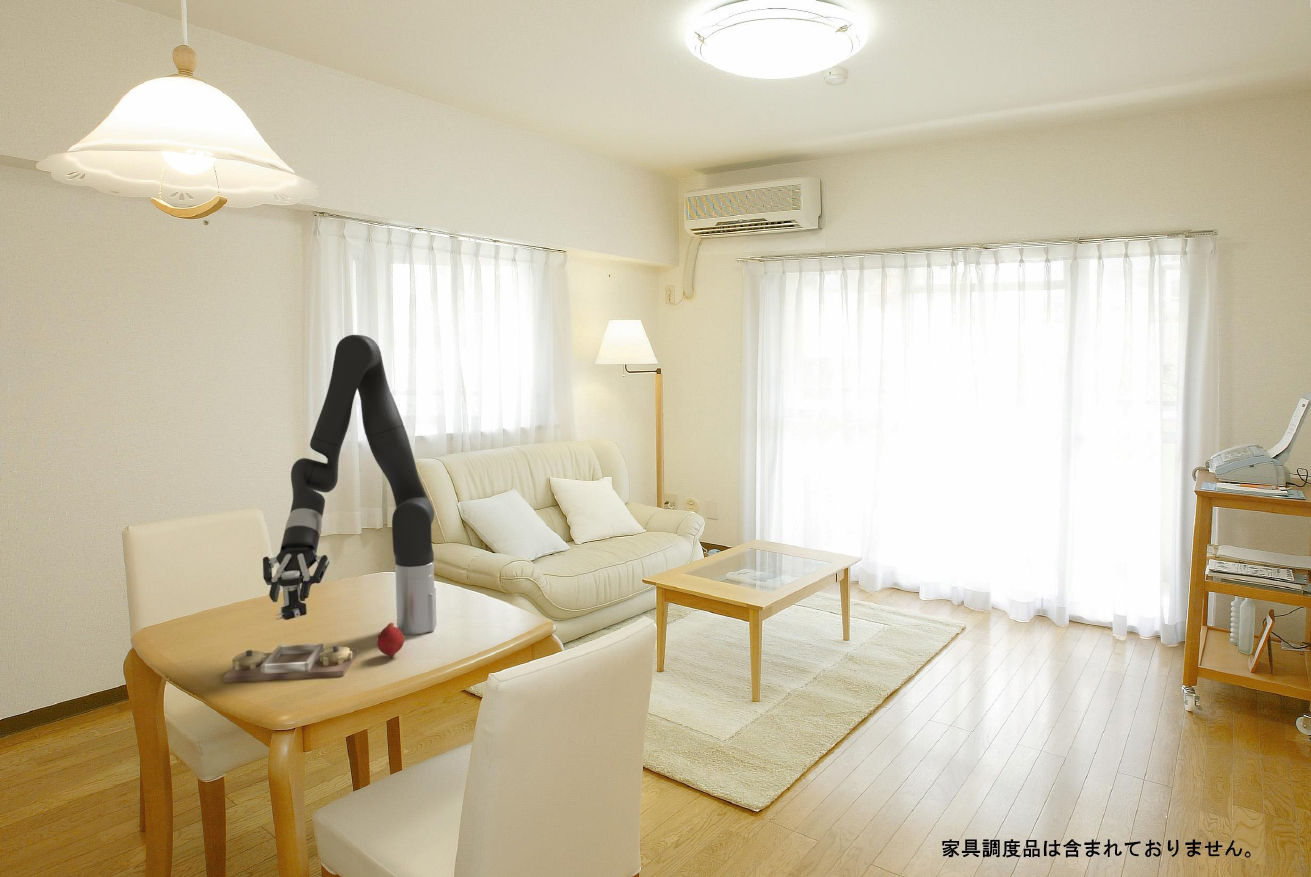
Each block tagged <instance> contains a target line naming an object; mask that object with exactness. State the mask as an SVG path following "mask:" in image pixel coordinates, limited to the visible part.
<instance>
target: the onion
mask: <svg viewBox="0 0 1311 877" xmlns="http://www.w3.org/2000/svg"><path fill="white" fill-rule="evenodd" d="M404 643H405V636H404V634H402V632H401V631H400V630H399V629H398V628H397V626H395V625H394V622H393V621H391V622H389V623H388V624H386V626H385V627H384V628H383V629H381V631H380V632H379V634H378V635H377V639H376V646H377V648H378V650H379V652H381V653H382V654H383V655H385V656H388V657H389V658H390V657H394V656H395V655H396V654H397V653H398V652H399V651H401V649H402V648H403V646H404Z"/></svg>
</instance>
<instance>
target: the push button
mask: <svg viewBox="0 0 1311 877" xmlns="http://www.w3.org/2000/svg"><path fill="white" fill-rule="evenodd" d="M281 574H282V576H281V577H278V578H277V580H278V581H279V585H280V587H282V592H283V593H282V595H283V596H282V597H283V603H282V606H281V607H280V612H279V613H277V614H275V616H276V617H277V616H279V617H278V618H275V620H276V621H279V620H281V619H282V620H285V621H288V620H291V619H295V618H300V617H302V616H303V617H304V616H307V612H308V611H307V603H305V602H303V601H301V600H300V598H299V595H300V590H301V585H302V582H304V579H303V578H304V576H303V575H302V574H300V572H299V571H298V570H290V571H285V572H282V573H281Z"/></svg>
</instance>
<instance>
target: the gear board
mask: <svg viewBox="0 0 1311 877" xmlns="http://www.w3.org/2000/svg"><path fill="white" fill-rule="evenodd" d="M357 655H358V648H349V647H347V646H340V645H334V646H332V647H329V648H326V649H324V643H308V644H307V643H306V644H289V645H288V644H287V645H285V644H284V645H277V647H276V648H275V649H274V650H273V651H272V652H264V651H262V650H252V649H248V650H245V651H243V652H241V653H238V654H237V655H235V656H234V657H232V667H231V669H229V671H228V672H226V673H225V675H224V676H223V677H222V678H223V683H226V684H227V683H239V682H240V683H242V682H243V683H244V682H258V681H259V682H260V681H278V680H296V679H299V680H300V679H312V678H313V679H315V678H333V677H336V678H337V677H344V676H345V675H346V673H347V671H348V670H349V668H350V667H351V664H352V663H353V662H354V660H355V659H356V656H357Z"/></svg>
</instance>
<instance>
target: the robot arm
mask: <svg viewBox="0 0 1311 877" xmlns="http://www.w3.org/2000/svg"><path fill="white" fill-rule="evenodd" d="M380 349H381V348H380V347H379V345H378V344H377V341H375V340H374V339H372V338H371V337H369V336H367V335H363V334H362V335H361V334H349V335H346V336H345V337H343V338H341V340H339V342H338V343H337V344H336V348H335V353H334V358H333V364H332V369H331V370H332V371H331V376H330V380H329V386H328V389H327V393H326V395H325V398H324V403H323V405H322V407H321V410H320V413H319V417H318V419H317V422H316V423H315V427H314V430H313V433H312V435H311V439H310V443H309V447H310V448H311V449H312V451H314V452H316V453H319V454H321V455H323V456H324V457H325V458H326V460H327V462H323V461H318V460H314V459H311V458H306V457H302V458H299V459H297V460H296V461H295V462H294V464H293V465H292V467H291V471H290V481H291V486H292V488H291V490H292V503H291V508H290V512H289V516H288V518H287V520H286V524H285V526H284V527H285V528H284V533H283V536H282V542H281V546H280V549H279V552H278V554H277V555H276V556H273V557H270V558H269V556H263V558H262V573H263V576H262V577H263V580H264V582H265V584H266V585H267V586H270V588H269V593H268V596H269V598H270V600H271V601H272V603H277V602H279V601H278V599H279V594H280V591H281V586H280V585H279V581H278V580H277V578H278V577H281V576H282V574H281V573H282V572H285V571H290V570H298V571H299V572H300V574H302V575H303V576H304V578H303V581H304V582H302V583H301V584H300V595H299V598H300V600H301V602H305V601H306V599H308V598H309V597H310V596H309V595H310V590H311V587H312V585H314V584H321V582H322V581H323V580H322V579H323V578H324V575H325V573H326V571H327V568H328V566H329V565H330V560H329V558H328V556H327V555H326V554H323V555H318V554H317V551H318V548H319V547H318V545H319V542H320V537H321V534H322V524H323V523H322V522H323V521H322V520H323V516H324V511H325V506H326V499H325V497H324V496H323V495H322V494H321V493H330V492H331V491H333V490H334V489H335V487H336V486H337V485H338V480H339V479H338V478H339V462H340V461H339V460H340V453H341V449H342V446H343V444H344V441H345V438H346V435H347V432H348V428H349V426H350V422H351V416H352V411H353V406H354V399H355V395H356V394H357V391H358V395H359V398H360V408H361V409H360V410H361V417H362V418H361V419H362V425H363V430H364V434H365V437H366V440H367V443H368V445H369V448H370V452H371V454H372V456H373V458H374V460H375V462H376V464H377V465H378V467H379V469H380V470H381V472H382V473H383V474H384V476H385V478H386V479H387V481H388V484H389V485H390V488H391V492H392V495H393V498H394V499H393V500H394V504H395V509H394V512H393V514H392V519H391V530H392V531H391V532H392V550H393V556H394V563H395V564H394V566H395V602H396V605H395V606H396V608H395V609H396V628H398V629H399V630H400V631H401V632H402V634H403V635H409V636H410V635H420V634H421V635H422V634H427V633H430V632H434V631H435V628H436V626H437V593H436V592H437V588H436V587H435V560H434V558H435V557H434V555H435V554H434V550H433V545H432V544H433V542H432V541H433V540H432V524H433V521H434V519H435V518H434V517H435V510H434V508H433V505H432V502H431V500H430V498H429V496H428V494H427V492H426V490H425V488H424V485H423V483H422V481H421V479H420V476H419V472H418V469H417V465H416V462H415V457H414V455H413V450H412V447H411V443H410V439H409V437H408V433H407V431H406V427H405V425H404V422H403V418H402V417H401V414H400V411H399V409H398V406H397V403H396V402H395V398H394V397H393V395H392V392H391V390H390V386H389V383H388V380H387V376H386V375H387V374H386V370H385V367H384V362H383V357H382V352H381V350H380ZM319 492H320V493H319ZM276 564H278V565H279V566H278V568H277V569H276V572H275V574H274V575H273V569H274V568H275V566H276ZM314 564H317V566H316V568H315V570H314V572H313V574H312V575H311V572H310V570H309V569H310V568H311V567H312V566H313V565H314Z"/></svg>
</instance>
